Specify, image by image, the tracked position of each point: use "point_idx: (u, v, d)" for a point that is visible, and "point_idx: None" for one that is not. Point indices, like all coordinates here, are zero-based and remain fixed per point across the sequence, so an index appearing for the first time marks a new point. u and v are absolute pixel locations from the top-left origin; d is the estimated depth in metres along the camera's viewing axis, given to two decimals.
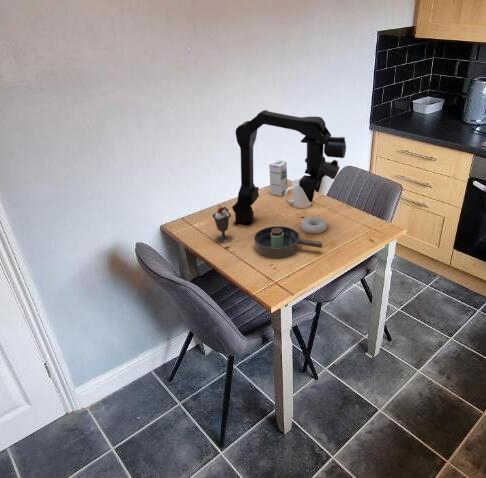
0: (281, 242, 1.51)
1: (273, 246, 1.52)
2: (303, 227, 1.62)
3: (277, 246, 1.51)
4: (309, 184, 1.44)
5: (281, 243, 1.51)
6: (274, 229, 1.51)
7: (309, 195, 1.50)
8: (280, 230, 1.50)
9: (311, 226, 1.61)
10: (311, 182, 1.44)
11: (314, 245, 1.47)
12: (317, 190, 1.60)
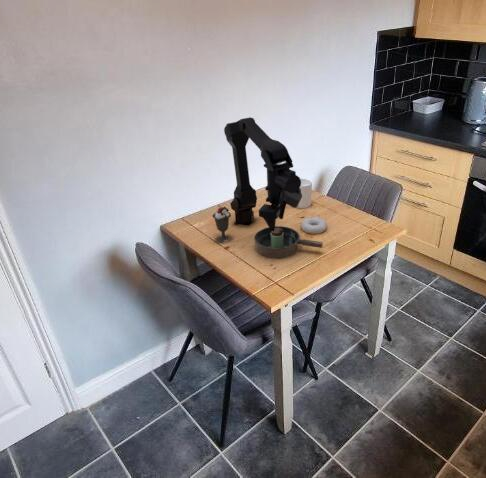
0: (281, 242, 1.51)
1: (273, 246, 1.52)
2: (303, 227, 1.62)
3: (277, 246, 1.51)
4: (269, 214, 1.37)
5: (281, 243, 1.51)
6: None
7: (270, 224, 1.44)
8: (280, 230, 1.50)
9: (311, 226, 1.61)
10: (271, 212, 1.37)
11: (314, 245, 1.47)
12: (281, 217, 1.53)
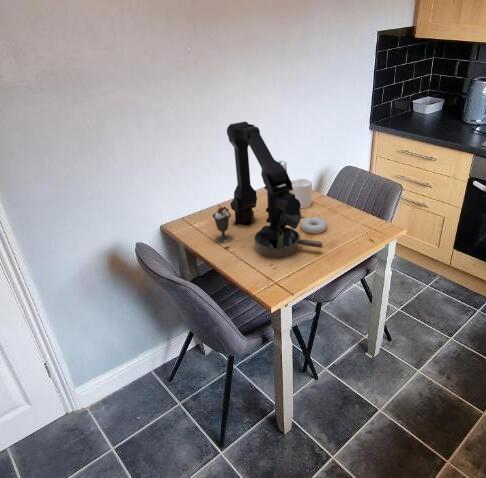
0: (281, 242, 1.51)
1: None
2: (303, 227, 1.62)
3: (277, 246, 1.51)
4: (269, 235, 1.41)
5: (281, 243, 1.51)
6: None
7: (273, 241, 1.49)
8: (280, 230, 1.50)
9: (311, 226, 1.61)
10: (271, 234, 1.41)
11: (314, 245, 1.47)
12: None
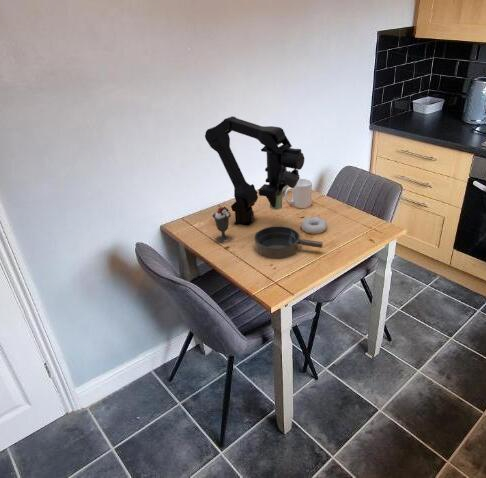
0: (280, 202, 1.57)
1: None
2: (303, 227, 1.62)
3: (276, 206, 1.57)
4: (268, 193, 1.47)
5: (280, 203, 1.57)
6: None
7: (271, 201, 1.55)
8: (279, 190, 1.57)
9: (311, 226, 1.61)
10: (270, 191, 1.47)
11: (314, 245, 1.47)
12: None
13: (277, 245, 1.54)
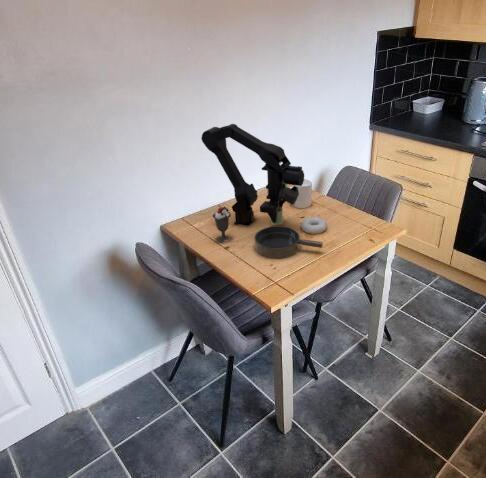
0: (280, 217, 1.63)
1: None
2: (303, 227, 1.62)
3: (276, 221, 1.63)
4: (269, 209, 1.53)
5: (280, 218, 1.63)
6: None
7: (272, 217, 1.61)
8: (279, 206, 1.62)
9: (311, 226, 1.61)
10: (270, 208, 1.53)
11: (314, 245, 1.47)
12: None
13: (277, 245, 1.54)
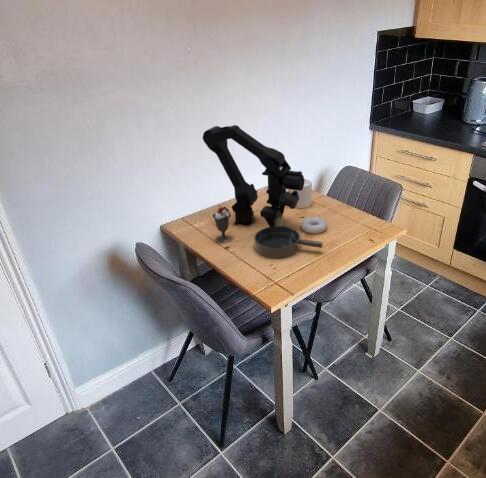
0: (280, 223, 1.64)
1: None
2: (303, 227, 1.62)
3: None
4: (270, 214, 1.54)
5: (280, 224, 1.64)
6: None
7: (271, 224, 1.60)
8: (279, 212, 1.64)
9: (311, 226, 1.61)
10: (271, 213, 1.53)
11: (314, 245, 1.47)
12: None
13: (277, 245, 1.54)
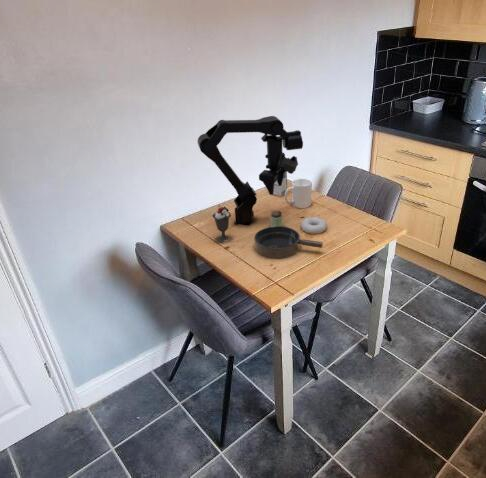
0: (280, 223, 1.64)
1: None
2: (303, 227, 1.62)
3: None
4: (268, 177, 1.57)
5: (280, 224, 1.64)
6: (274, 211, 1.64)
7: (269, 188, 1.63)
8: (279, 212, 1.64)
9: (311, 226, 1.61)
10: (269, 176, 1.56)
11: (314, 245, 1.47)
12: (280, 184, 1.72)
13: (277, 245, 1.54)
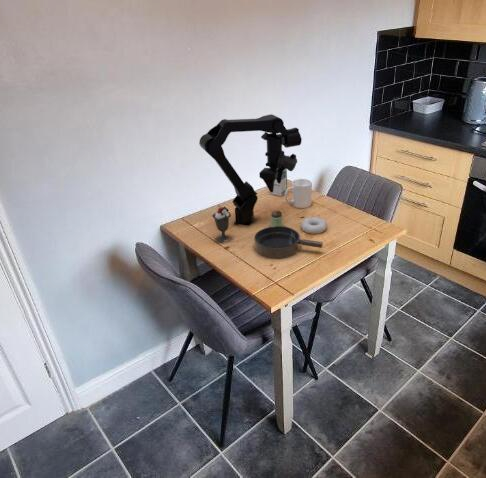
0: (280, 223, 1.64)
1: None
2: (303, 227, 1.62)
3: None
4: (268, 175, 1.59)
5: (280, 224, 1.64)
6: (274, 211, 1.64)
7: (269, 186, 1.65)
8: (279, 212, 1.64)
9: (311, 226, 1.61)
10: (270, 173, 1.58)
11: (314, 245, 1.47)
12: (279, 182, 1.74)
13: (277, 245, 1.54)
